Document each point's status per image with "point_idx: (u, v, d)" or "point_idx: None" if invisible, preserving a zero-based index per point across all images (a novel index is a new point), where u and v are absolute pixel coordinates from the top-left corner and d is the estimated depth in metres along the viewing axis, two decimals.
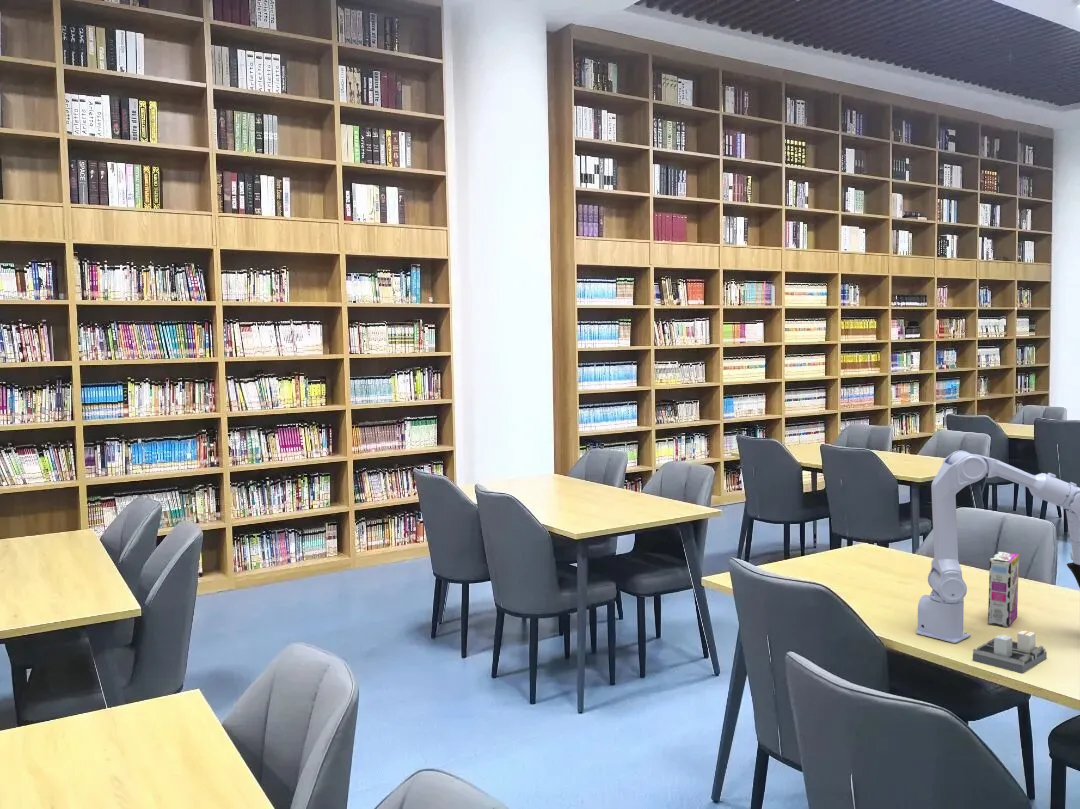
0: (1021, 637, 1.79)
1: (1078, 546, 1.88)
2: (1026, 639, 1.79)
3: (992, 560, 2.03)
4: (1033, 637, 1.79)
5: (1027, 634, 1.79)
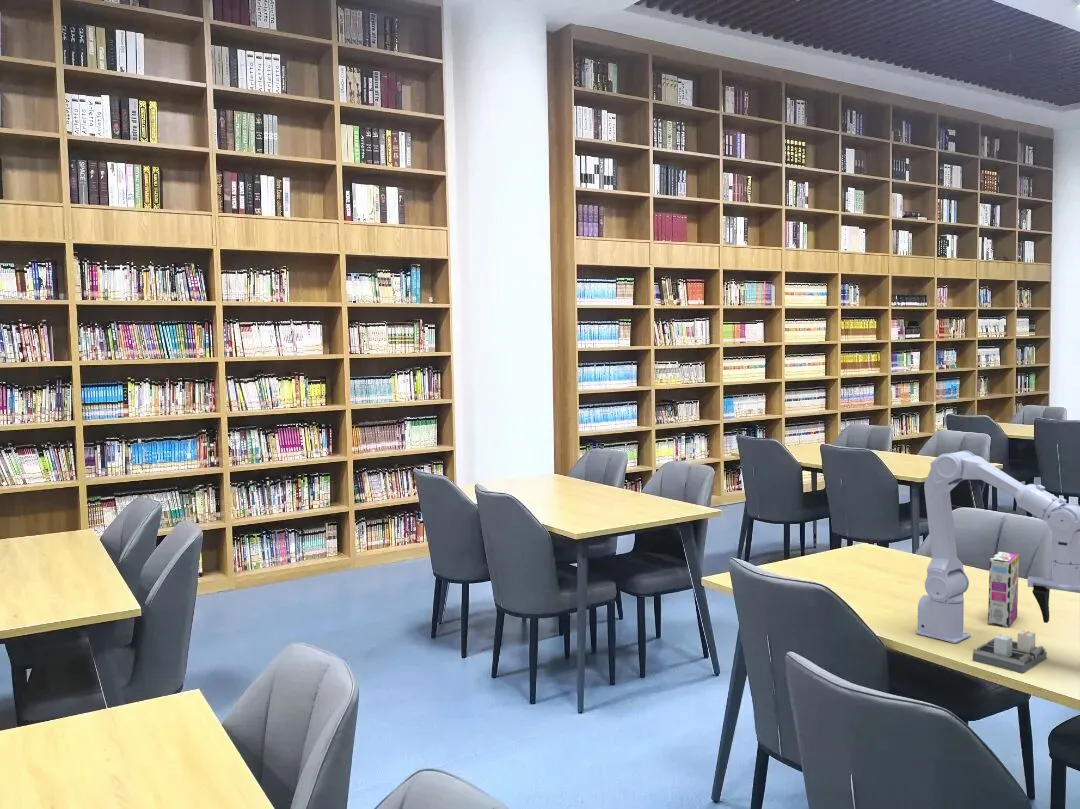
0: (1021, 637, 1.79)
1: None
2: (1026, 639, 1.79)
3: (992, 560, 2.03)
4: (1033, 637, 1.79)
5: (1027, 634, 1.79)
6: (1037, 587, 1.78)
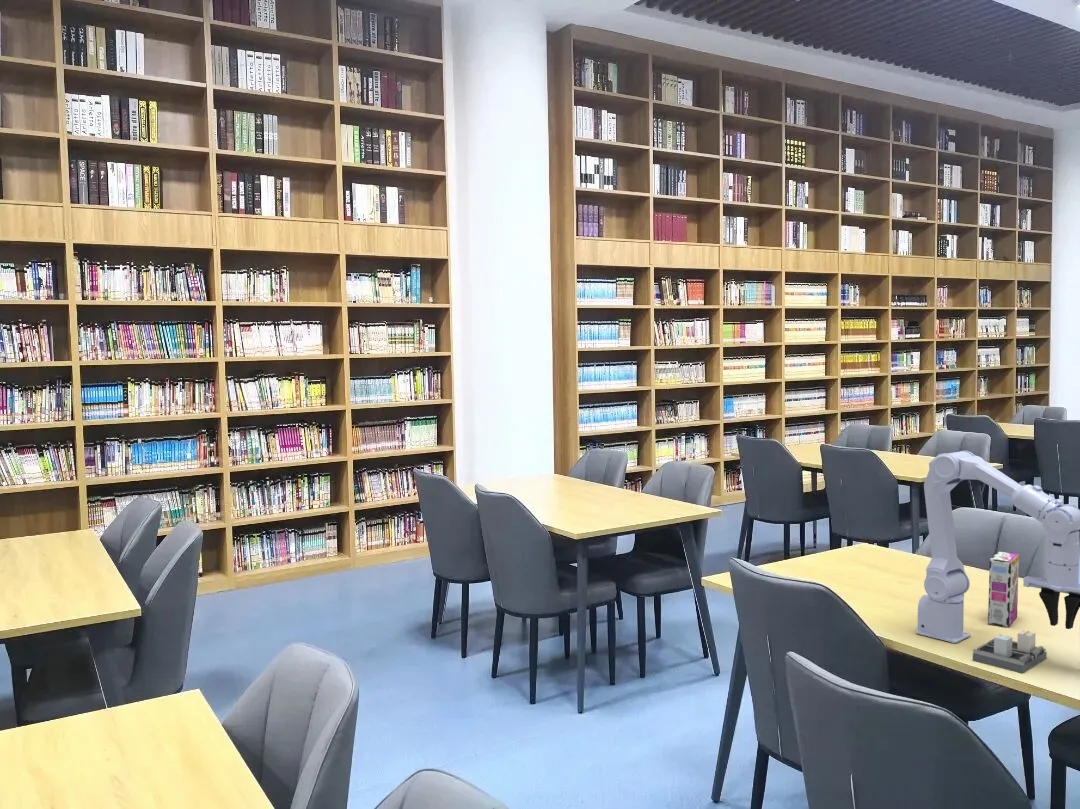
0: (1021, 637, 1.79)
1: None
2: (1026, 639, 1.79)
3: (992, 560, 2.03)
4: (1033, 637, 1.79)
5: (1027, 634, 1.79)
6: None
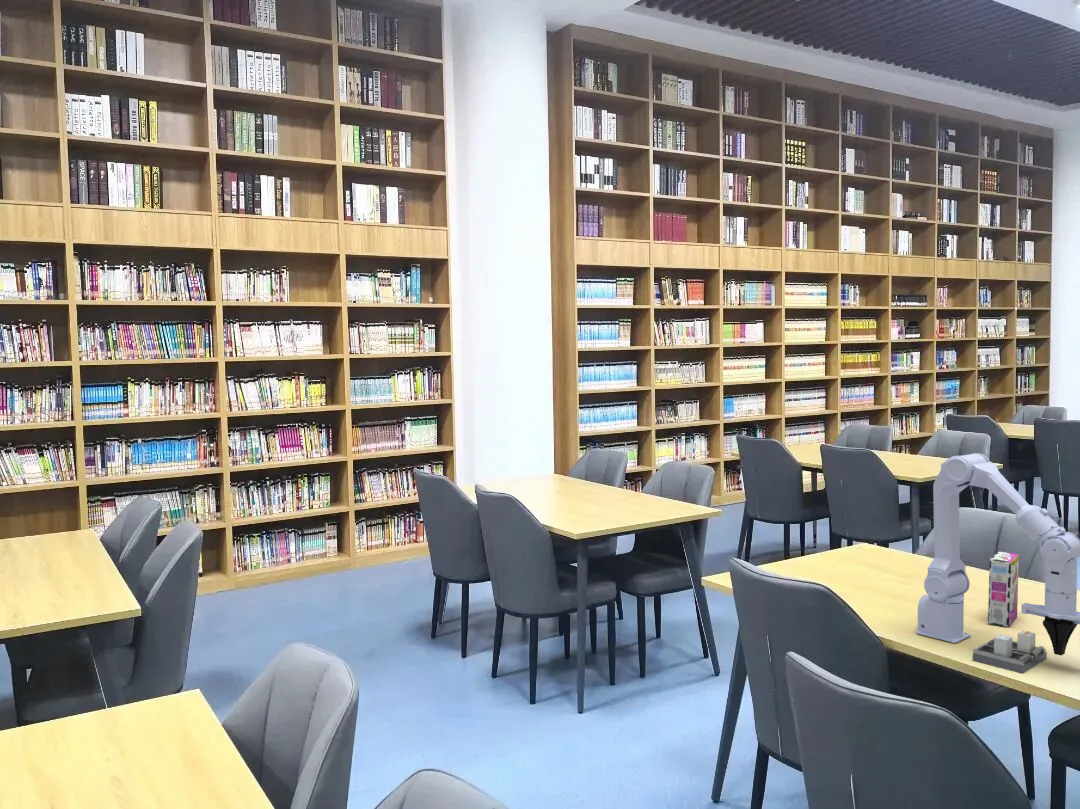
0: (1021, 637, 1.79)
1: None
2: (1026, 639, 1.79)
3: (992, 560, 2.03)
4: (1033, 637, 1.79)
5: (1027, 634, 1.79)
6: None
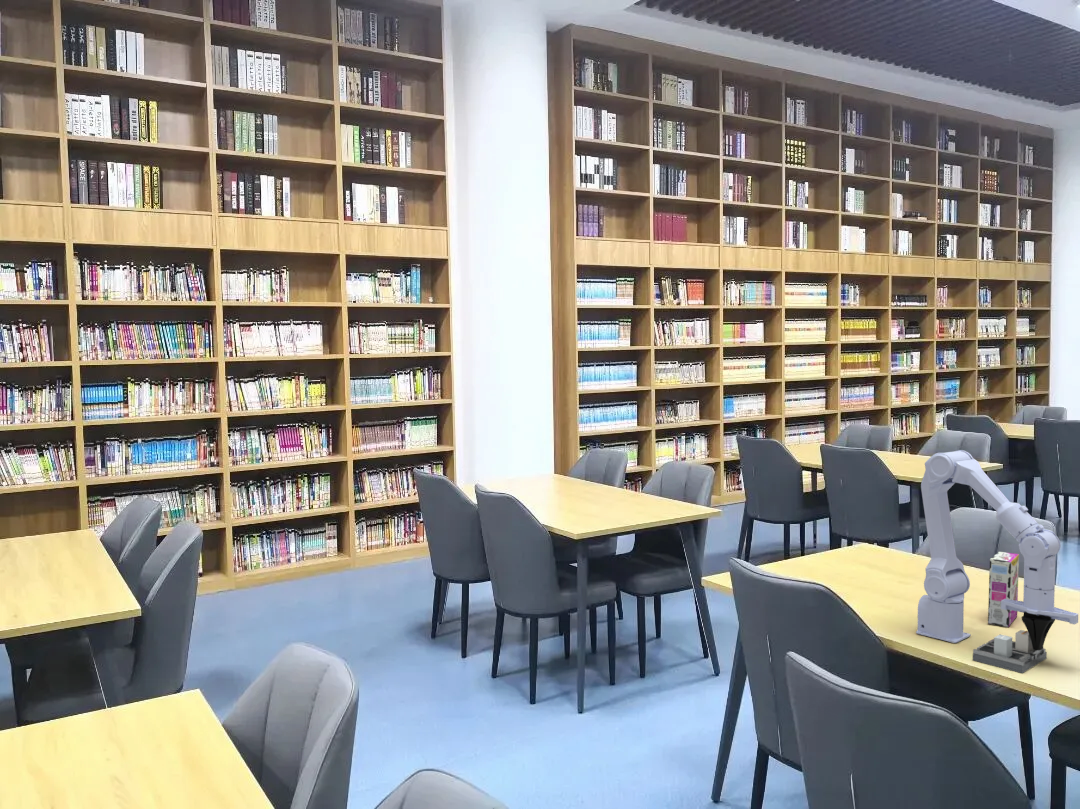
0: (1019, 637, 1.80)
1: None
2: (1024, 639, 1.79)
3: (992, 560, 2.03)
4: None
5: (1025, 634, 1.79)
6: None
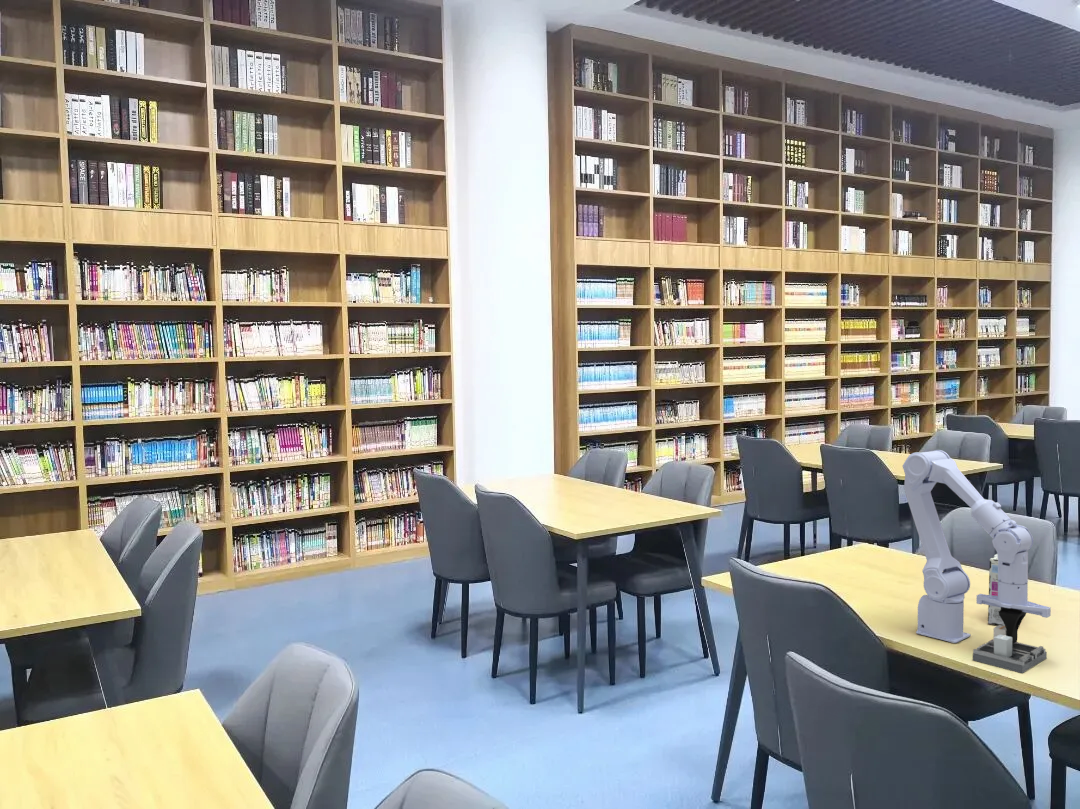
0: (997, 631, 1.83)
1: None
2: (1001, 633, 1.83)
3: (992, 560, 2.03)
4: None
5: (1003, 628, 1.83)
6: None
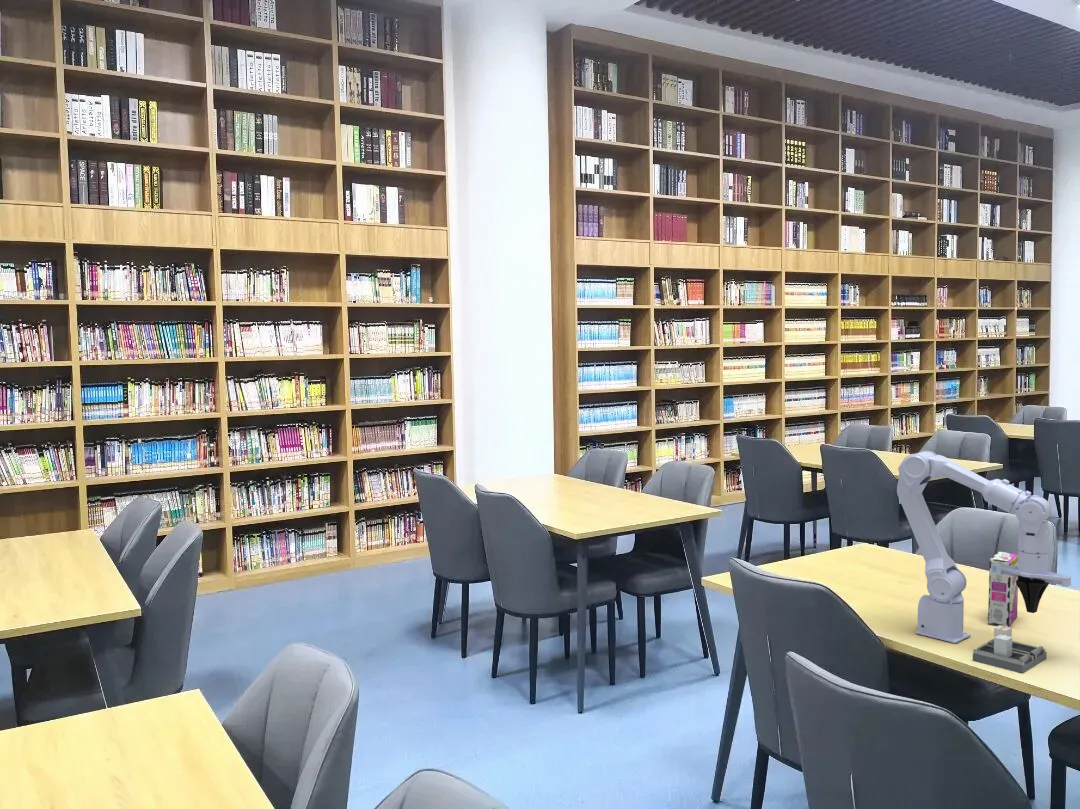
0: (997, 632, 1.83)
1: None
2: (1002, 634, 1.82)
3: (992, 560, 2.03)
4: (1009, 632, 1.83)
5: (1003, 629, 1.83)
6: (1005, 574, 1.87)
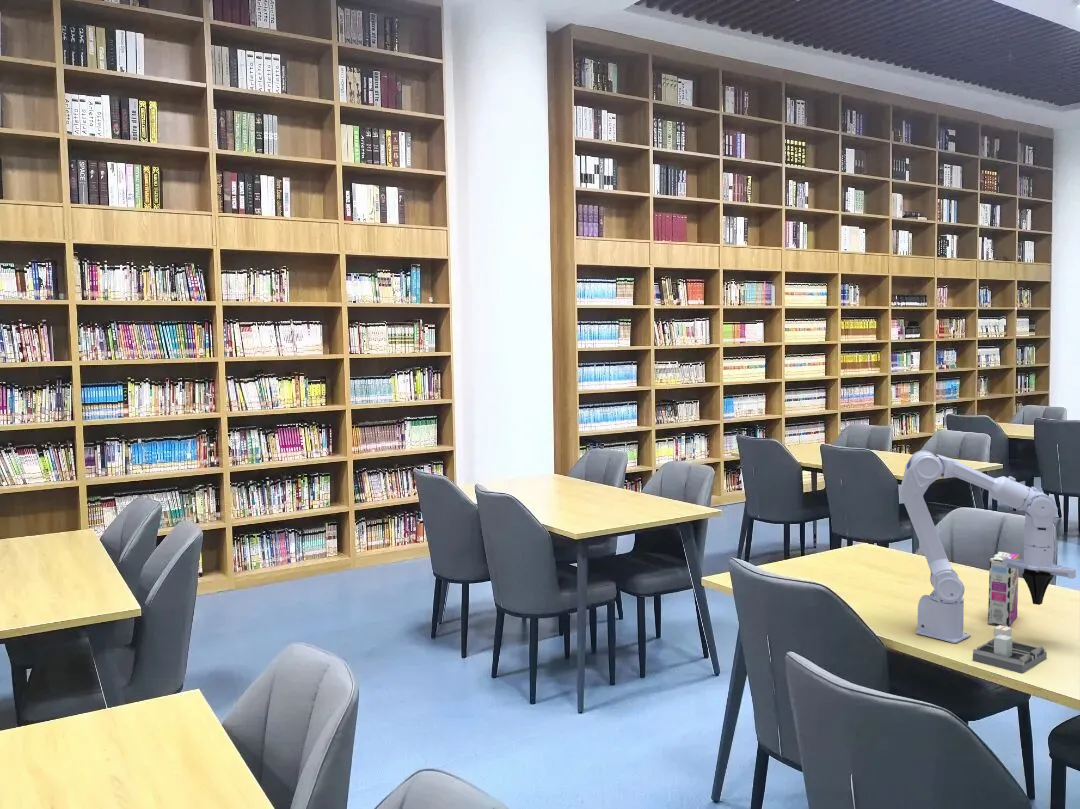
0: (997, 632, 1.83)
1: None
2: (1002, 634, 1.82)
3: (992, 560, 2.03)
4: (1009, 632, 1.83)
5: (1003, 629, 1.83)
6: None
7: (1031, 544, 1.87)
